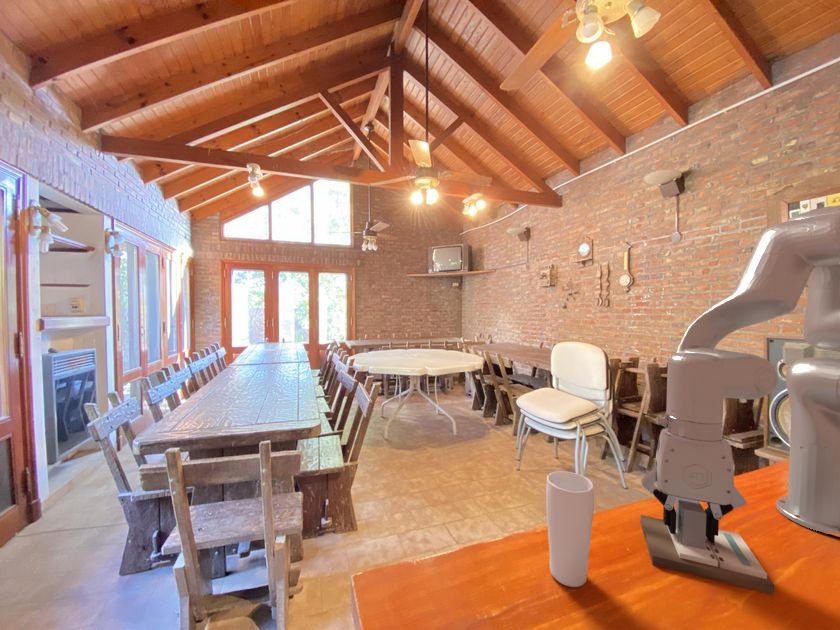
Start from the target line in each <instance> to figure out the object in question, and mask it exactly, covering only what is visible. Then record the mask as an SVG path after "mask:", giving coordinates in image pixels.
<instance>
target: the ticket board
mask: <svg viewBox="0 0 840 630" xmlns="http://www.w3.org/2000/svg"><path fill="white" fill-rule="evenodd" d="M639 518H640V520H639V521H640V526H641V531H642V532H643V536H644V539H645V543H646V546H647V547H646V548H647V551H648V554H649V558H650V561H651V565H652V566H657V567H659V568H665V569H668V570H673V571H676V572H681V573H685V574H688V575H692V576H697V577H700V578H704V579H709V580H712V581H715V582H718V583H719V582H720V583H724V584H728V585H732V586H736V587H740V588H742V589H743V588H744V589H748V590H752V591H756V592H759V593H764V594H767V595H772V596H775V589H776V586H775V584H774V582H773V580H772V579H771V578H770V577H769V575H768V573H767V572H766V570H765V569H764V568H763V566H762V565H761V563H760V562H759V560H758V559H757V558H756V556H755V555H754V553H753V552H752V551H751V549H750V547H749V546H748V545H747V543H746V542H745V540H744V539H743V537H742V536H741V534H740V533H737V532H733V531H727V530H722V529H719V531H718V536H715V542H714V543H711V542H710V541H708V539H707V537H706V541H707V542H708V544H709V546H710V548H711V550H712V552H713V553H714V555H715V557H716V559H717V561H718V567H716V566H712V565H708V564H703V563H699V562H695V561H691V560H687V559H683V558H679V555H678V553H677V550H676V548H675V545H674V543H673V540H672V538H671V535H670V533H669V530H668V528H667V525H664V522H663V519H662V518H658V517H654V516H653V517H652V516H649V515H648V516H646V515H643V514H640V517H639Z"/></svg>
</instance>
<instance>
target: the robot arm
mask: <svg viewBox="0 0 840 630" xmlns="http://www.w3.org/2000/svg"><path fill="white" fill-rule="evenodd" d="M807 282H808V283H807ZM806 284H807V285H808V286H807V287H808V288H807V296H806V304H805V313H804V321H803V337H804V340H805V341H806V343H807V344H808V346H811V347H813V348H815V349H819V350H824V351H830V352H836V353H837V352H838V353H840V204H838V205H834V206H829V207H823V208H817V209H814V210H813V209H812V210H808V211H805V212H802V213H799V214H796V215H794V216H792V217H791V218H788V219H787V220H786V221H784V222H780V223H776V224H773V225H771V226H770V227H768V228H766V229H764V231H762V233H761V234H760V235H759V236H758V238H757V240H756V243H755V244H754V247H753V248H752V251H751V252H750V255H749V256H748V259H747V262H746V263H745V266H744V268H743V269H742V273H741V275H740V276H739V279H738V280H737V283H736V285H735V287H734V289H733V291H732V292H731V294H729V295H728V296H727V297H725V298H723V299H722V300H720V301H718V302H717V303H715V304H714V305H713V306H711V307H710V308H709V309H707V310H706V311H705V312H703V313H702V314H700V316H698V317H697V318H695V320H694V321H693V322H692V323H691V324H690V325H689V326H688V327H687V329H686V331H685V333H684V334H683V337H682V339H681V341H680V342H679V344H678V346H677V350H676V352H675V353H674V354H671V355H670V356H669V358H668V359H667V378H666V379H667V381H666V411H665V412H664V415H661V416H656V417H655V423H656V425H661V426H662V427H664V428H662V429H661V431H660V434H659V437H658V441H657V446H656V447H657V448H656V453H655V461H654V467H653V468H652V469H651V470H650V471H649V472H648V473H647V474H646V475H645V476H644V477H643V478H641V479H640V483H641V485H642V487H643V488H645V490H647V491H648V492H649V493H651V494H652V495H653V496H654V497H655V498H656V499H657V500H658V501H659V502H660V504H661V505H662V506H663V509H662V510H663V511H662V514H663V515H662V518H663V522H664V525H667V526H668V528H669V531H670V533H671V534H676V508H675V505H676V498H677V497H680V498H685V499H691V500H696V501H699V502H700V503H701V502H702V503H706V505H707V508H704V510H705V512H706V537H707V539H708V541H710V542H711V543H714V542H715V536H718V531H719V530H720V529H719V528H720V527H719V526H720V521H721V520H723V517H724V516H726V515H727V514H729V513H731V512H733V510H734V509H738V508H741V507H744V506H746V505H747V504H748V501H747V499H745V497H744V496H743V495H742V493H741V492H740V491H739V490H738V489H737V487H736V486H735V480H734V479H735V477H734V467H733V464H734V463H733V458H732V451H731V447H730V443H729V441H728V440H727V439H725V438H724V437H723V426H724V424H723V422H724V421H723V420H724V400H725V399H727V398H731V399H739V400H757V399H762V398H764V397H766V396H768V395H770V394H771V393H772V392H773V391H774V390H775V388H777V385H778V382H779V374H778V370H777V369H776V367H775V366H774V364H772V362H770V361H769V360H768V359H766V358H764V357H761V356H760V355H755V354H754V353H753V354H752V353H745V352H739V351H738V352H737V351H732V350H725V349H716V346H717V345H718V344H719V343H720V342H721V341H722V340H723V339H725V338H726V337H727V336H729V335H730V334H732V333H734V332H735V331H739V330H741V329H743V328H747V327H750V326H752V325H756V324H759V323H760V324H761V323H764V322H766V321H770V320H774V319H777V318H780V317H783V316H785V315H787V314H790V313H791V312H793V311H794V310H795V308H796V307H797V305H798V303H799V302H800V301H799V300H800V298H801V297H802V293H803V291H804V289H805V287H806ZM785 385H786V389H787V395H788V399H789V404H790V405H789V406H790V439H789V457H788V458H789V459H788V479H787V480H788V482H787V484H786V485H787V496H783V497H779V498H778V499H777V500H776V508H777V510H778V511H779V512H780V513H781V514H782V515H783V516H785V517H786V518H787V519H789V520H790V521H792V522H795V523H797V524H798V525H800V526H803V527H805V528H807V529H809V528H810V530H812V529H813V530H812V531H815V530H816V531H815V532H817V531H821V532H824V533H835V534H840V358H833V357H832V358H831V357H816V356H815V357H814V356H811V357H804V358H800V359H797V360H795V361H794V362H792V363H791V364H790V365H789V366H788V368H787V370H786V373H785ZM656 482H657V486H656V485H655V483H656Z"/></svg>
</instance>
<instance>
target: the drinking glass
mask: <svg viewBox="0 0 840 630" xmlns="http://www.w3.org/2000/svg"><path fill="white" fill-rule="evenodd" d="M594 493H595V492H594V483H593V482H592V481H591V480H590V479H589V478H587V477H585V476H584V475H581V474H579V473H575V472H572V471H565V470H556V471H553V472H550V473H549V474H547V476H546V488H545V511H546V520H547V521H546V523H547V524H546V525H547V537H548V549H549V551H548V552H549V570H550V574H551V576H552V577H553V578H554V579H555V580H556V581H557V582H558V583H560V584H562V585H564V586H566V587H569V588H570V587H571V588H578V587H582V586H583V585H584V584H586V582H587V578H588V562H589V555H590V545H591V537H592V529H593V522H594V521H593V520H594V510H595V509H594V508H595V495H594Z"/></svg>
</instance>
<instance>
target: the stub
mask: <svg viewBox="0 0 840 630" xmlns="http://www.w3.org/2000/svg"><path fill="white" fill-rule="evenodd" d="M675 511H676V534H671V533H670V531H669V533H670V535H671V538H672V540H673V543H674V545H675V548H676V550H677V553H678V555H679V558H683V559H687V560H691V561H695V562H699V563H703V564H708V565H712V566H716V567H718V561H717V559H716V557H715V555H714V553H713V552H712V550H711V548H710V546H709V544H708V542H707V541H706V512H705V508H704V507H703V506H702V504H701V501H696V500H691V499H685V498H680V497H677V498H676V501H675ZM667 528H668V526H667ZM668 530H669V528H668Z"/></svg>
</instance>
